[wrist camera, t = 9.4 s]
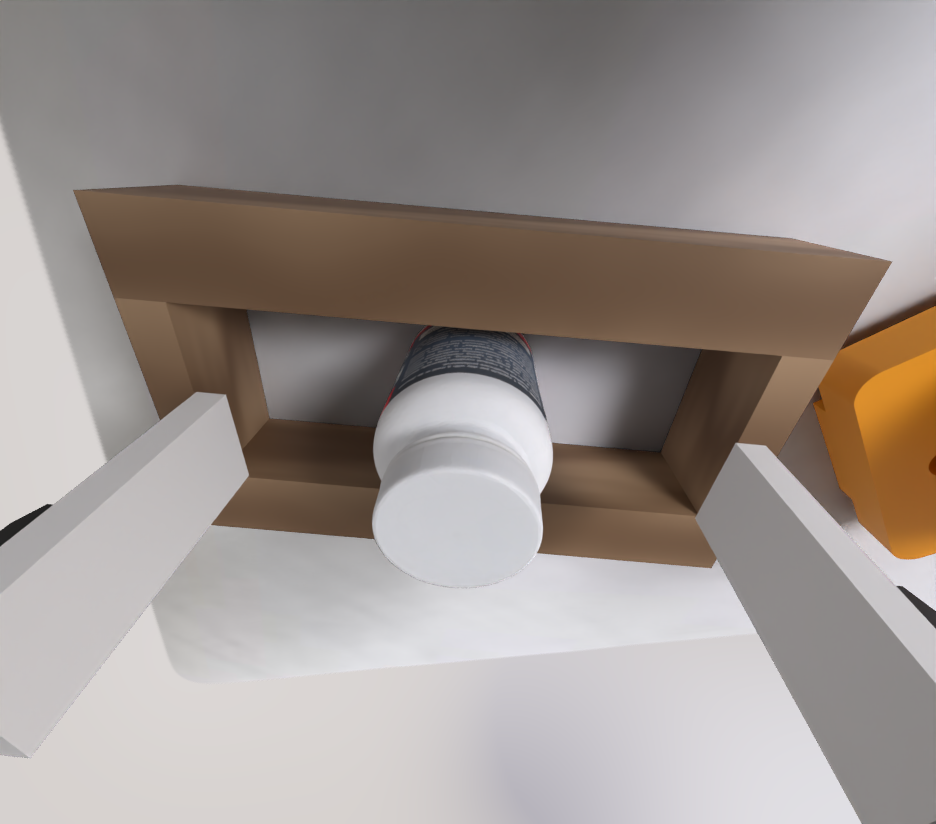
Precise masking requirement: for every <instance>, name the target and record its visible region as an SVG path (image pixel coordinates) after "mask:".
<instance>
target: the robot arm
mask: <svg viewBox="0 0 936 824" xmlns="http://www.w3.org/2000/svg"><path fill="white" fill-rule="evenodd" d="M248 476H249V473H248V470H247V466H246V463H245V459H244V456H243V452H242V449H241V445H240V442H239V438H238V435H237V432H236V428H235V425H234V421H233V418H232V414H231V411H230V407H229V404H228V400H227V397H226V395H224V394H213V393H203V392H196V393H195V394H193V395H192V396H191V397H189V398H188V399H187V400H186V401H184V402H183V403H182V404H181V405H179V406H178V407H177V408H175V409H174V410H173V411H172V412H170V413H169V414H168V415H167V416H165V417H164V418H163V419H162V420H160V421H159V422H158V423H156V424H155V425H154V426H153V427H151V428H150V429H149V430H148V431H146V432H145V433H144V434H142V435H141V436H140V437H139V438H137V439H136V440H135V441H134V442H132V443H131V444H130V445H129V446H127V447H126V448H125V449H123V450H122V451H121V452H120V453H118V454H117V455H116V456H115V457H113V458H112V459H111V460H109V461H108V462H107V463H106V464H105V465H103V466H102V467H101V468H99V469H98V470H97V471H96V472H94V473H93V474H92V475H90V476H89V477H88V478H87V479H85V480H84V481H83V482H82V483H80V484H79V485H78V486H77V487H75V488H74V489H73V490H71V491H70V492H69V493H68V494H66V495H65V496H64V497H63V498H61V499H60V500H59V501H58V502H56V503H55V504H54V505H51V504H47V505H45V506H43V507H41V508H39V509H37V510H35V511H33V512H32V513H29V514H27V515H26V516H24V517H22V518H20V519H18V520H16V521H14V522H12V523H10V524H9V525H8V526H6V527H5V528H4V529H2V530H1V531H0V755H5V756H14V757H24V758H31V757H32V755H33V754H34V753H35V751H36V750H37V749H38V748H39V746H40V745H41V744H42V742H43V741H44V740H45V739H46V737H47V736H48V735H49V733H50V732H51V731H52V729H53V728H54V727H55V726H56V724H57V723H58V722H59V720H60V719H61V718H62V717H63V715H64V714H65V713H66V711H67V710H68V709H69V708H70V706H71V705H72V704H73V702H74V701H75V700H76V698H77V697H78V696H79V695H80V693H81V692H82V691H83V689H84V688H85V687H86V686H87V684H88V683H89V682H90V680H91V679H92V678H93V676H94V675H95V674H96V672H97V671H98V670H99V669H100V667H101V666H102V665H103V663H104V662H105V661H106V660H107V658H108V657H109V656H110V654H111V653H112V652H113V651H114V649H115V648H116V647H117V645H118V644H119V643H120V641H121V640H122V639H123V638H124V636H125V635H126V634H127V633H128V631H129V630H130V629H131V627H132V626H133V625H134V623H135V622H136V621H137V619H138V618H139V617H140V616H141V614H142V613H143V612H144V610H145V609H146V608H147V607H148V605H149V604H150V603H151V602H152V600H153V599H154V598H155V596H156V595H157V594H158V593H159V591H160V590H161V589H162V587H163V586H164V585H165V583H166V582H167V581H168V580H169V578H170V577H171V576H172V574H173V573H174V572H175V571H176V569H177V568H178V567H179V565H180V564H181V563H182V561H183V560H184V559H185V558H186V556H187V555H188V554H189V552H190V551H191V550H192V549H193V547H194V546H195V545H196V543H197V542H198V541H199V540H200V538H201V537H202V536H203V534H204V533H205V532H206V530H207V529H208V528H209V527H210V525H211V524H212V523H213V521H214V520H215V519H216V518H217V516H218V515H219V514H220V512H221V511H222V510H223V508H224V507H225V506H226V505H227V503H228V502H229V501H230V499H231V498H232V497H233V496H234V494H235V493H236V492H237V490H238V489H239V488H240V487H241V485H242V484H243V483H244V481H245V480H246V479H247V477H248ZM695 519H696V521H697V523H698V525H699V527H700V529H701V530H702V532H703V534H704V536H705V538H706V539H707V541H708V543H709V545H710V547H711V549H712V550H713V552H714V554H715V556H716V558H717V560H718V561H719V563H720V565H721V567H722V569H723V571H724V572H725V574H726V576H727V578H728V580H729V582H730V583H731V585H732V587H733V589H734V591H735V593H736V594H737V596H738V598H739V600H740V602H741V604H742V605H743V607H744V609H745V611H746V613H747V614H748V616H749V618H750V620H751V622H752V624H753V625H754V627H755V629H756V631H757V633H758V635H759V636H760V638H761V640H762V642H763V644H764V646H765V647H766V649H767V651H768V653H769V655H770V656H771V658H772V660H773V662H774V664H775V666H776V668H777V669H778V671H779V673H780V675H781V676H782V679H783V680H784V682H785V684H786V686H787V688H788V689H789V691H790V693H791V695H792V697H793V699H794V700H795V702H796V704H797V706H798V708H799V710H800V711H801V713H802V715H803V717H804V719H805V720H806V722H807V724H808V726H809V728H810V730H811V732H812V733H813V735H814V737H815V739H816V741H817V743H818V744H819V746H820V748H821V750H822V752H823V754H824V755H825V757H826V759H827V761H828V763H829V764H830V766H831V768H832V770H833V772H834V774H835V775H836V777H837V779H838V781H839V783H840V785H841V786H842V788H843V790H844V792H845V794H846V796H847V797H848V799H849V801H850V803H851V805H852V806H853V808H854V810H855V812H856V814H857V816H858V817H859V819H860V821H861V823H862V824H936V611H935V610H933V609H932V608H931V607H929V606H928V605H927V604H925V603H924V602H923V601H921V600H920V599H919V598H917V597H916V596H915V595H913V594H912V593H911V592H909V591H908V590H907V589H905V588H904V587H903V586H896V585H895V584H894V583H893V582H892V581H891V580H890V579H889V578H888V577H887V576H886V575H885V574H884V573H883V571H882V570H881V569H880V568H879V567H878V566H877V565H876V564H875V563H874V562H873V561H872V560H871V559H870V557H869V556H868V555H867V554H866V553H865V552H864V551H863V550H862V549H861V548H860V547H859V546H858V545H857V543H856V542H855V541H854V540H853V539H852V538H851V537H850V536H849V535H848V534H847V533H846V532H845V530H844V529H843V528H842V527H841V526H840V525H839V524H838V523H837V522H836V521H835V520H834V519H833V518H832V516H831V515H830V514H829V513H828V512H827V511H826V510H825V509H824V508H823V507H822V506H821V505H820V504H819V502H818V501H817V500H816V499H815V498H814V497H813V496H812V495H811V494H810V493H809V492H808V491H807V490H806V488H805V487H804V486H803V485H802V484H801V483H800V482H799V481H798V480H797V479H796V478H795V477H794V476H793V474H792V473H791V472H790V471H789V470H788V469H787V468H786V467H785V466H784V465H783V464H782V463H781V462H780V460H779V459H778V458H777V457H776V456H775V455H774V454H773V453H772V452H771V451H770V450H769V449H768V447H767V446H764V445H753V444H743V443H735V445H734V447H733V449H732V450H731V452H730V454H729V456H728V458H727V460H726V462H725V464H724V465H723V467H722V469H721V471H720V473H719V475H718V477H717V478H716V480H715V482H714V484H713V486H712V488H711V490H710V491H709V493H708V495H707V497H706V499H705V501H704V503H703V504H702V506H701V508H700V510H699V512H698V514H697V516H696V517H695Z"/></svg>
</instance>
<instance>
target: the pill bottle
mask: <svg viewBox="0 0 936 824" xmlns="http://www.w3.org/2000/svg"><path fill="white" fill-rule="evenodd" d="M373 454H374V462H375V466H376V470H377V472H378V475H379V477H380V479H381V484H380V490H379V493H378V497H377V500H376V504H375V507H374V511H373V516H372V529H373V534H374V539H375V541H376V544H377V545H378V546H379V548H380V550H381V552H382V553H383V555H384V556H385V557H386V558H387V559H388V560H389V561H390V562H391V563H392V564H393V565H394V566H396V567H397V568H398V569H400V570H401V571H403V572H404V573H406V574H408V575H410V576H411V577H413V578H416V579H418V580H420V581H423V582H426V583H430V584H433V585H438V586H443V587H449V588H476V587H483V586H487V585H492V584H495V583H498V582H501V581H503V580H506V579H508V578H510V577H512V576H514V575H516V574H517V573H518V572H520V571H522V570H523V569H524V568H525V567H526V566H527V565H528V564H529V563H530V562H531V561H532V559H533V558H534V557H535V555H536V553H537V552H538V550H539V547H540V544H541V541H542V535H543V522H542V512H541V499H540V494H541V492H542V490H543V489H544V487H545V485H546V483H547V482H548V479H549V476H550V473H551V469H552V463H553V448H552V441H551V435H550V431H549V427H548V423H547V419H546V415H545V411H544V408H543V403H542V399H541V395H540V390H539V385H538V380H537V374H536V368H535V363H534V358H533V354H532V351H531V348H530V346H529V344H528V342H527V340H526V339H525V337H524V336H523V334H522V333H512V332H501V331H489V330H478V329H466V328H455V327H443V326H432V325H426V326H425V327H424V328H423V329H422V330H421V331H420V332H419V333H418V334H417V336H416V337H415V339H414V340H413V342H412V344H411V347H410V348H409V350H408V353H407V355H406V358H405V360H404V363H403V365H402V367H401V370H400V372H399V374H398V376H397V379H396V381H395V383H394V386H393V388H392V390H391V393H390V395H389V397H388V399H387V402H386V404H385V406H384V408H383V411H382V413H381V416H380V418H379V421H378V424H377V428H376V431H375V436H374V443H373Z"/></svg>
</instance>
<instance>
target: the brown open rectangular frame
mask: <svg viewBox="0 0 936 824" xmlns="http://www.w3.org/2000/svg"><path fill="white" fill-rule="evenodd" d="M73 191H74V194H75V196H76V199H77V202H78V204H79V207H80V209H81V212H82V215H83V217H84V220H85V223H86V225H87V228H88V231H89V233H90V236H91V239H92V241H93V244H94V246H95V249H96V252H97V254H98V257H99V260H100V262H101V265H102V268H103V270H104V273H105V276H106V278H107V281H108V283H109V286H110V289H111V291H112V294H113V297H114V299H115V302H116V305H117V307H118V310H119V312H120V315H121V318H122V320H123V323H124V326H125V328H126V331H127V334H128V336H129V339H130V342H131V344H132V347H133V349H134V352H135V355H136V357H137V360H138V363H139V365H140V368H141V371H142V373H143V376H144V379H145V381H146V384H147V386H148V389H149V392H150V394H151V397H152V400H153V402H154V405H155V408H156V410H157V413H158V415H159V418H160V420H162V419H163V418H164V417H165V416H167V415H168V414H169V413H170V412H172V411H173V410H174V409H175V408H177V407H178V406H179V405H181V404H182V403H183V402H184V401H186V400H187V399H188V398H189V397H191V396H192V395H193V394H195V393H196V392H203V393H213V394H224V395H226V397H227V400H228V404H229V407H230V411H231V414H232V418H233V421H234V425H235V428H236V432H237V435H238V438H239V442H240V445H241V449H242V452H243V456H244V459H245V463H246V466H247V470H248V473H249V476H248V477H247V479H246V480H245V481H244V483H243V484H242V485H241V487H240V488H239V489H238V490H237V492H236V493H235V494H234V496H233V497H232V498H231V499H230V501H229V502H228V503H227V505H226V506H225V507H224V508H223V510H222V511H221V512H220V514H219V515H218V516H217V518H216V519H215V520H214V521H213V523H212V524H211V525H218V526H229V527H241V528H252V529H264V530H276V531H287V532H299V533H310V534H322V535H333V536H345V537H357V538H368V539H374V534H373V529H372V516H373V511H374V507H375V504H376V500H377V497H378V493H379V490H380V484H381V479H380V477H379V475H378V472H377V470H376V466H375V462H374V454H373V443H374V436H375V431H376V428H373V427H362V426H350V425H339V424H327V423H316V422H304V421H293V420H281V419H270V418H269V414H268V409H267V404H266V400H265V395H264V390H263V385H262V381H261V376H260V371H259V367H258V362H257V357H256V353H255V348H254V343H253V338H252V334H251V329H250V324H249V320H248V315H247V310H246V309H248V310H259V311H271V312H282V313H294V314H305V315H317V316H328V317H340V318H351V319H363V320H374V321H386V322H397V323H409V324H420V325H432V326H443V327H455V328H466V329H478V330H489V331H501V332H512V333H524V334H535V335H547V336H558V337H570V338H581V339H593V340H604V341H616V342H627V343H639V344H650V345H662V346H673V347H685V348H696V349H702V351H701V353H700V356H699V358H698V361H697V363H696V366H695V368H694V371H693V373H692V376H691V378H690V381H689V383H688V386H687V388H686V391H685V393H684V396H683V398H682V401H681V403H680V406H679V408H678V410H677V413H676V415H675V418H674V420H673V423H672V425H671V428H670V430H669V433H668V435H667V438H666V440H665V443H664V445H663V448H662V450H661V452H650V451H639V450H627V449H616V448H604V447H593V446H581V445H570V444H558V443H552V448H553V463H552V469H551V473H550V476H549V479H548V482H547V483H546V485H545V487H544V489H543V490H542V492H541V494H540V499H541V512H542V522H543V535H542V541H541V544H540V547H539V550H538V552H537V553H542V554H554V555H565V556H577V557H588V558H600V559H612V560H623V561H635V562H646V563H658V564H669V565H681V566H693V567H704V568H712V566H713V564H714V563H715V561H716V559H717V558H716V556H715V554H714V552H713V550H712V549H711V547H710V545H709V543H708V541H707V539H706V538H705V536H704V534H703V532H702V530H701V529H700V527H699V525H698V523H697V521H696V519H695V517H696V516H697V514H698V512H699V510H700V508H701V506H702V504H703V503H704V501H705V499H706V497H707V495H708V493H709V491H710V490H711V488H712V486H713V484H714V482H715V480H716V478H717V477H718V475H719V473H720V471H721V469H722V467H723V465H724V464H725V462H726V460H727V458H728V456H729V454H730V452H731V450H732V449H733V447H734V445H735V443H743V444H753V445H764V446H767V447H768V449H769V450H770V451H771V452H772V453H773V454H774V455H775V456H776V457H777V456H778V454H779V453H780V451H781V449H782V447H783V446H784V444H785V442H786V441H787V439H788V437H789V436H790V434H791V432H792V430H793V429H794V427H795V425H796V424H797V422H798V420H799V419H800V417H801V415H802V414H803V412H804V410H805V408H806V407H807V405H808V403H809V402H810V400H811V398H812V397H813V395H814V393H815V392H816V390H817V388H818V386H819V385H820V383H821V381H822V380H823V378H824V376H825V375H826V373H827V371H828V370H829V368H830V366H831V364H832V363H833V361H834V359H835V358H836V356H837V354H838V353H839V351H840V349H841V347H842V346H843V344H844V342H845V341H846V339H847V337H848V336H849V334H850V332H851V331H852V329H853V327H854V325H855V324H856V322H857V320H858V319H859V317H860V315H861V314H862V312H863V310H864V309H865V307H866V305H867V303H868V302H869V300H870V298H871V297H872V295H873V293H874V292H875V290H876V288H877V287H878V285H879V283H880V281H881V280H882V278H883V276H884V275H885V273H886V271H887V270H888V268H889V266H890V264H891V263H892V262H891V261H887V260H883V259H878V258H874V257H870V256H865V255H861V254H857V253H852V252H848V251H844V250H839V249H835V248H831V247H826V246H822V245H818V244H813V243H809V242H805V241H800V240H796V239H791V238H780V237H769V236H757V235H746V234H734V233H723V232H711V231H700V230H688V229H677V228H665V227H654V226H643V225H631V224H620V223H608V222H597V221H585V220H574V219H562V218H551V217H539V216H528V215H517V214H505V213H494V212H482V211H471V210H459V209H448V208H436V207H425V206H413V205H402V204H391V203H379V202H368V201H356V200H345V199H333V198H322V197H310V196H299V195H287V194H276V193H264V192H253V191H242V190H230V189H219V188H207V187H196V186H184V185H164V186H145V187H126V188H106V189H87V190H73Z"/></svg>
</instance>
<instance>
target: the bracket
mask: <svg viewBox="0 0 936 824" xmlns="http://www.w3.org/2000/svg"><path fill="white" fill-rule="evenodd" d="M818 388H819V391H820V394H821V398H822V399H821V400H819V401H817V402H814V403H813V405H814V408H815V411H816V414H817V418H818V421H819V424H820V427H821V430H822V433H823V437H824V440H825V443H826V446H827V449H828V453H829V456H830V459H831V462H832V465H833V469H834V472H835V475H836V478H837V481H838V484H839V488H840V489H841V490H842V491H843V492H844V493H845V494H847V495H848V496H849V497H850V498H851V499H852V501H853V504H854V508H855V511H856V514H857V518H858V521H859V523H860V524H861V525H862V526H864V527H865V528H866V529H867V530H868V531H869V532H870V533H871V534H872V535H873V536H874V537H875V538H876V539H877V540H878V541H879V542H880V543H881V544H882V545H883V546H884V547H886V548H887V549H888V550H889V551H890V552H891V553H892V554H893V555H894V556H895V557H897V558H900V559H917V558H921V557H925V556H928V555H931V554H935V553H936V306H934V307H932V308H930V309H928V310H925V311H923V312H921V313H919V314H917V315H915V316H912V317H910V318H908V319H906V320H904V321H902V322H900V323H897V324H895V325H893V326H891V327H889V328H887V329H885V330H882V331H880V332H878V333H876V334H874V335H872V336H869V337H867V338H865V339H863V340H861V341H859V342H857V343H854V344H852V345H850V346H848V347H846V348H844V349H842V350H840V351H839V353H838V354H837V356H836V358H835V359H834V361H833V363H832V364H831V366H830V368H829V370H828V371H827V373H826V375H825V376H824V378H823V380H822V381H821V383H820V385H819V386H818Z"/></svg>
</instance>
